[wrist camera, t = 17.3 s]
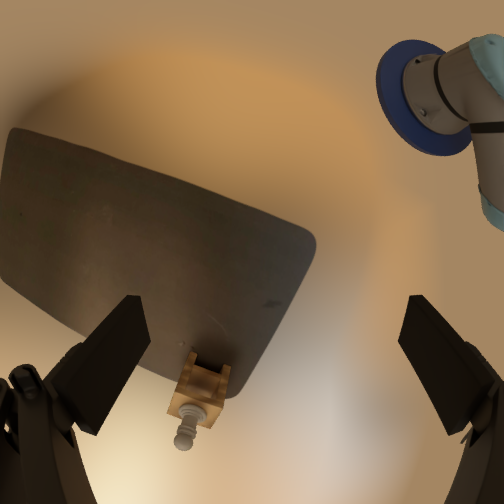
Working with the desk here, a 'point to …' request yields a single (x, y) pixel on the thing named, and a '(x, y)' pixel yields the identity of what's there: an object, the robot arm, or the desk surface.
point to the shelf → (200, 390)
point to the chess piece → (188, 425)
